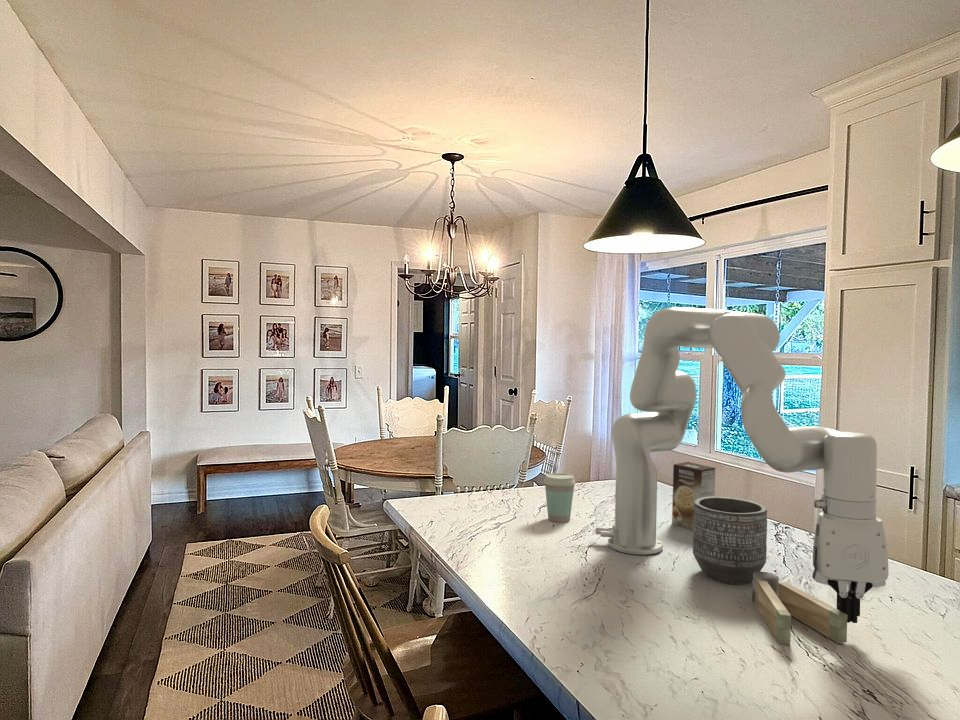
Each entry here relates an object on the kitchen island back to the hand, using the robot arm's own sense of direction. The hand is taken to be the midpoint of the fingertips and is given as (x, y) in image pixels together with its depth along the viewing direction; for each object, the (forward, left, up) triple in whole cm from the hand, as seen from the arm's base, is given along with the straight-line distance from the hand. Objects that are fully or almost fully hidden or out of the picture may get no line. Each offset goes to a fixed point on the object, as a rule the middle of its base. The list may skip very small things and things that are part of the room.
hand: (848, 619), depth 104 cm
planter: (-14, +25, -3) cm, 29 cm away
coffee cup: (-51, +59, -3) cm, 78 cm away
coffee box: (-16, +61, -3) cm, 63 cm away
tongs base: (-10, +5, -3) cm, 11 cm away
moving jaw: (-5, +4, -3) cm, 6 cm away
